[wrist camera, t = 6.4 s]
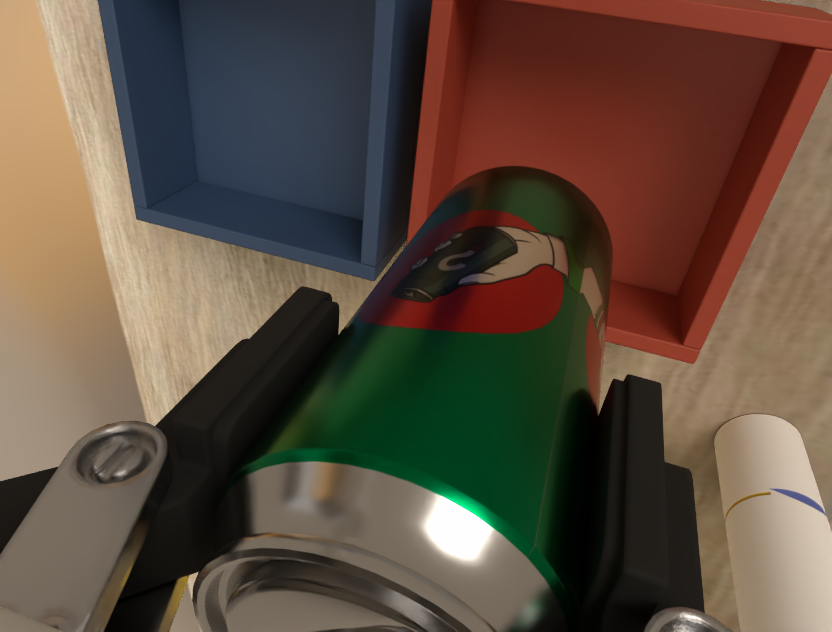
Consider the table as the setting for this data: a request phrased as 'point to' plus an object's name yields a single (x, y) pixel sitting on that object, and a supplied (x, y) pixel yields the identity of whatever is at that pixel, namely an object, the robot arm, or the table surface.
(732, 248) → the red bin
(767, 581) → the tube
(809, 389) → the table surface
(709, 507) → the table surface
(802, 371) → the table surface
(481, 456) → the soda can
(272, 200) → the blue bin
